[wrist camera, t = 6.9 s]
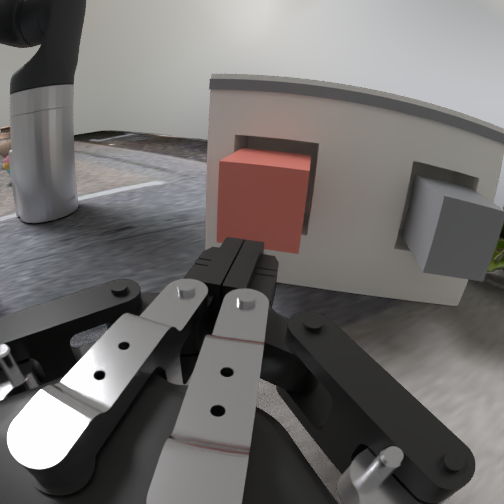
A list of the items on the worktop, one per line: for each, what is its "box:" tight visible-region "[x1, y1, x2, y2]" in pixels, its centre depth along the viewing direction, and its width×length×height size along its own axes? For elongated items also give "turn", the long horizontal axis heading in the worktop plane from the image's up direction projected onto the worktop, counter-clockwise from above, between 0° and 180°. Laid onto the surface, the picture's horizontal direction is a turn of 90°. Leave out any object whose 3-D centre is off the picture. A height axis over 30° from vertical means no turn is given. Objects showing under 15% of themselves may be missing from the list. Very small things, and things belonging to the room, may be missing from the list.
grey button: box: [401, 174, 504, 282], centre depth 19 cm, size 5×6×5 cm
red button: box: [217, 148, 311, 254], centre depth 21 cm, size 5×6×5 cm
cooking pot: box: [0, 126, 12, 158], centre depth 72 cm, size 25×19×12 cm
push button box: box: [205, 74, 504, 306], centre depth 25 cm, size 23×8×16 cm, turn 79°
